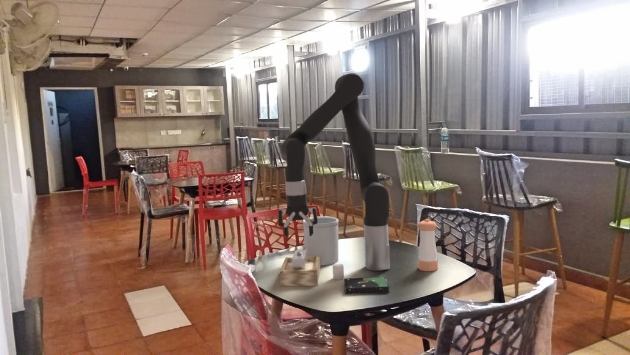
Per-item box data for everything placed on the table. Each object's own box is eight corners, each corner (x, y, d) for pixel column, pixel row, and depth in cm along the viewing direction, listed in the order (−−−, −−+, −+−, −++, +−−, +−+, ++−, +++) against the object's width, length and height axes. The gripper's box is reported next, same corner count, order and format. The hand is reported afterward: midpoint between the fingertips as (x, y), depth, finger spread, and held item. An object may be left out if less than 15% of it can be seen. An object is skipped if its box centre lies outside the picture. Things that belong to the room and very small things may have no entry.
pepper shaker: (441, 267, 183) (440, 218, 181) (431, 272, 178) (430, 221, 176) (424, 264, 188) (423, 216, 186) (414, 269, 183) (413, 219, 181)
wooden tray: (320, 270, 188) (319, 256, 187) (317, 285, 170) (317, 270, 170) (286, 271, 189) (285, 257, 188) (280, 286, 171) (279, 271, 171)
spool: (344, 276, 178) (343, 263, 178) (344, 280, 175) (343, 267, 174) (333, 277, 179) (332, 264, 178) (333, 280, 175) (332, 267, 174)
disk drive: (345, 296, 160) (389, 294, 160) (344, 288, 160) (389, 285, 160) (344, 285, 171) (385, 283, 170) (343, 278, 170) (385, 275, 170)
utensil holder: (332, 254, 209) (331, 214, 207) (345, 263, 195) (343, 220, 193) (300, 258, 205) (298, 218, 203) (311, 268, 191) (309, 225, 189)
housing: (305, 272, 173) (304, 256, 172) (292, 272, 173) (291, 257, 173) (307, 262, 185) (307, 247, 184) (296, 262, 185) (295, 248, 184)
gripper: (275, 195, 172) (278, 239, 174) (314, 193, 171) (317, 237, 173) (278, 192, 180) (281, 234, 182) (316, 190, 179) (319, 232, 181)
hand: (299, 236), depth 178 cm, fingers open, 8 cm apart
